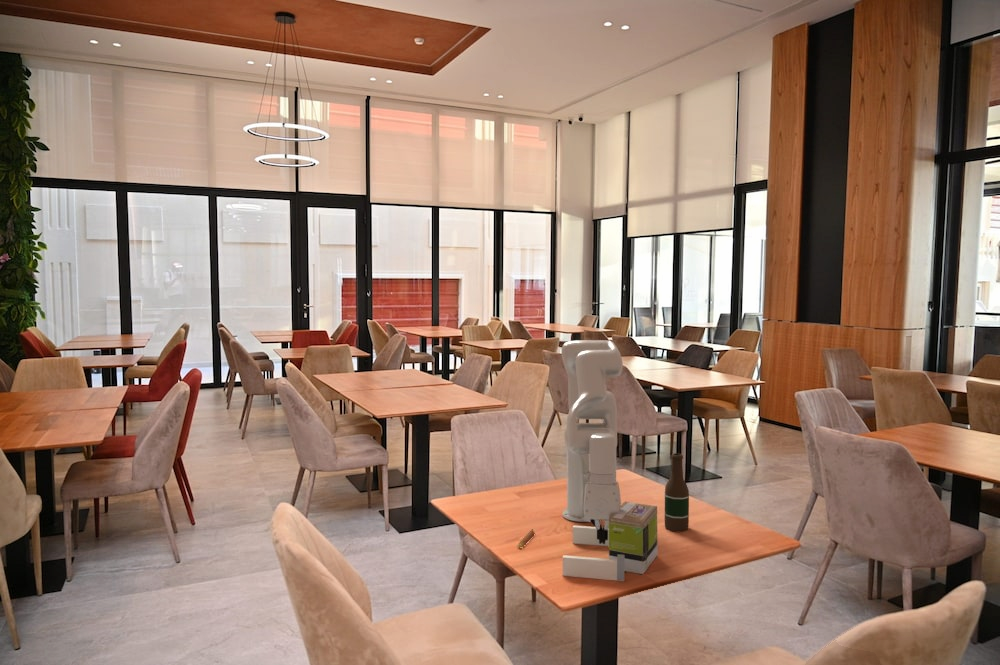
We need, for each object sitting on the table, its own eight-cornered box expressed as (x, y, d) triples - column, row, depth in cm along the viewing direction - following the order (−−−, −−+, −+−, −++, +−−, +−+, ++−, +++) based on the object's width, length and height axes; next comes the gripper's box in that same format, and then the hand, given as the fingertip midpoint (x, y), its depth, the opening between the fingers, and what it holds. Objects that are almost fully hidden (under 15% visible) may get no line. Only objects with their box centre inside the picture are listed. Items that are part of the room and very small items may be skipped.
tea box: (624, 549, 197) (625, 500, 196) (658, 555, 192) (659, 505, 191) (607, 568, 183) (608, 515, 182) (643, 575, 179) (644, 521, 178)
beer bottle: (668, 522, 220) (668, 450, 218) (691, 526, 216) (692, 453, 214) (660, 529, 213) (661, 455, 212) (685, 534, 209) (686, 458, 208)
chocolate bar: (515, 549, 199) (515, 541, 199) (528, 535, 210) (528, 528, 210) (523, 550, 198) (523, 542, 198) (536, 536, 209) (536, 529, 209)
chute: (573, 541, 203) (573, 520, 203) (627, 545, 200) (627, 524, 199) (562, 575, 179) (562, 552, 178) (624, 581, 175) (624, 557, 175)
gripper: (574, 479, 185) (574, 544, 186) (629, 483, 182) (628, 549, 183) (577, 472, 193) (577, 535, 194) (630, 475, 189) (629, 539, 190)
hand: (602, 542), depth 188 cm, fingers closed
